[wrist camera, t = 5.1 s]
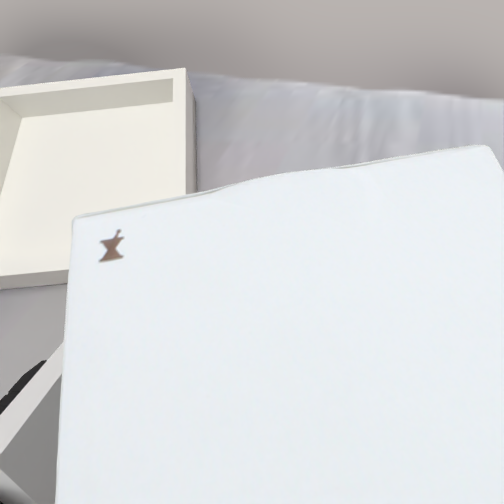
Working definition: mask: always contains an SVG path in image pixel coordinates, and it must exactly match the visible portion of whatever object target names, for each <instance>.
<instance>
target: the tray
mask: <svg viewBox="0 0 504 504" xmlns="http://www.w3.org/2000/svg"><path fill="white" fill-rule="evenodd" d="M192 193H197V165H196V102H195V98H194V95H193V91H192V88H191V84H190V81H189V77H188V74H187V71H186V68H180V69H171V70H161V71H152V72H143V73H134V74H125V75H115V76H106V77H97V78H88V79H79V80H69V81H60V82H51V83H42V84H32V85H23V86H14V87H5V88H0V290H2V289H13V288H23V287H34V286H44V285H55V284H65V283H68V274H69V263H70V252H71V241H72V219H73V218H74V217H75V216H78V215H81V214H85V213H92V212H98V211H103V210H108V209H114V208H119V207H125V206H131V205H135V204H140V203H145V202H149V201H155V200H161V199H166V198H172V197H177V196H181V195H186V194H192Z"/></svg>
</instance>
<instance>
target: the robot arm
mask: <svg viewBox="0 0 504 504" xmlns="http://www.w3.org/2000/svg"><path fill="white" fill-rule="evenodd" d="M63 348H64V342H63V343H62V344H61V345H60V346H59V347H58V349H57V350H56V351H55V352H54V353H53V354H52V356H51V357H50V358H49V359H48V360H45V361H41V362H40V363H39V364H37V365H36V366H35V367H33V368H32V369H31V370H29V371H28V372H27V373H26V374H24V375H23V376H22V377H21V378H20V379H19V381H18V382H17V383H16V384H15V385H14V386H13V387H12V388H11V389H10V390H9V393H8V395H5V396H4V397H3V398H2V399H1V400H0V504H55V495H56V477H57V453H58V435H59V414H60V397H61V381H62V364H63Z"/></svg>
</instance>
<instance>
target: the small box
mask: <svg viewBox="0 0 504 504" xmlns="http://www.w3.org/2000/svg"><path fill="white" fill-rule="evenodd" d="M55 504H504V171H503V170H502V168H501V166H500V164H499V163H498V161H497V159H496V157H495V156H494V154H493V152H492V150H491V148H489V147H488V146H487V145H467V146H462V147H456V148H448V149H440V150H435V151H429V152H424V153H418V154H411V155H405V156H398V157H392V158H386V159H381V160H375V161H370V162H364V163H358V164H351V165H345V166H338V167H331V168H323V169H314V170H305V171H296V172H288V173H282V174H277V175H271V176H265V177H260V178H256V179H252V180H248V181H244V182H240V183H235V184H230V185H226V186H223V187H220V188H216V189H212V190H208V191H203V192H198V193H192V194H186V195H181V196H177V197H172V198H166V199H161V200H155V201H149V202H145V203H140V204H135V205H131V206H125V207H119V208H114V209H108V210H103V211H98V212H92V213H85V214H81V215H78V216H75V217H74V218H73V219H72V241H71V252H70V263H69V274H68V287H67V300H66V315H65V331H64V348H63V364H62V381H61V397H60V414H59V435H58V453H57V477H56V495H55Z"/></svg>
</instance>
